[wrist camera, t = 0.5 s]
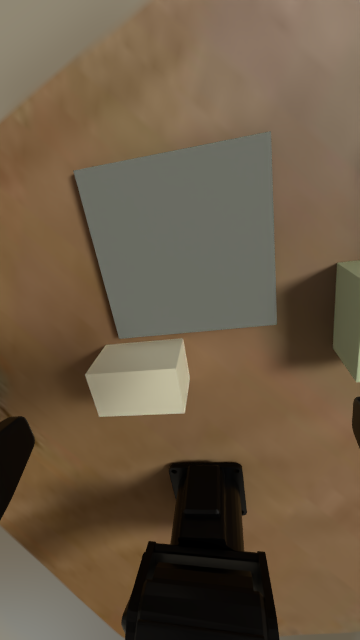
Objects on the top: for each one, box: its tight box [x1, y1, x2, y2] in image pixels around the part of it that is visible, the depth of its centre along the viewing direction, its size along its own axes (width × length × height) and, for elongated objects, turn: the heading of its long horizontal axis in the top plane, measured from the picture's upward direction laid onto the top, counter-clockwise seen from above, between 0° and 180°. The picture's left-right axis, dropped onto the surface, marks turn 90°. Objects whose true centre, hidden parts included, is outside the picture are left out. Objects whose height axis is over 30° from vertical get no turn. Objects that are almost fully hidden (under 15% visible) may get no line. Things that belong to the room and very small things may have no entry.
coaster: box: [74, 131, 277, 339], centre depth 18 cm, size 11×11×1 cm
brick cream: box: [85, 338, 190, 417], centre depth 21 cm, size 6×4×4 cm, turn 99°
